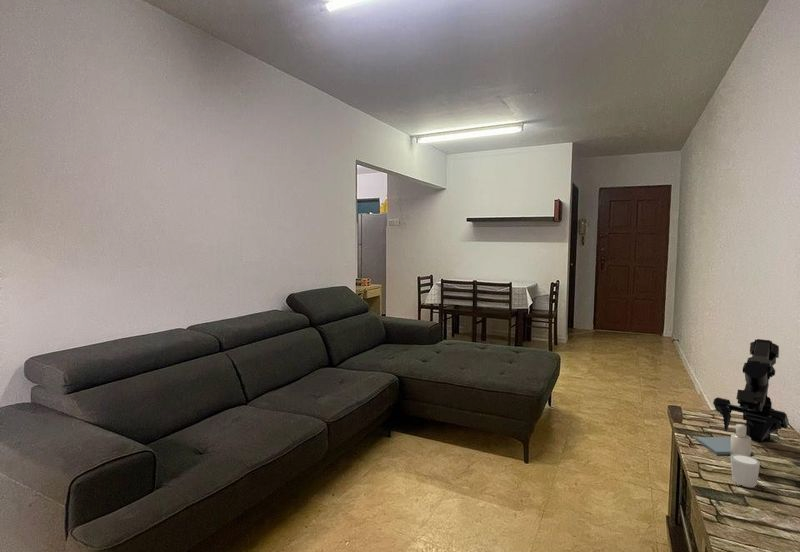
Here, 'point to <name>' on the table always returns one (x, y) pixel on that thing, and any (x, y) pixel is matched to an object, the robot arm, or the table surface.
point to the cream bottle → (740, 441)
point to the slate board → (717, 444)
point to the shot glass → (744, 470)
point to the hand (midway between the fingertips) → (742, 434)
